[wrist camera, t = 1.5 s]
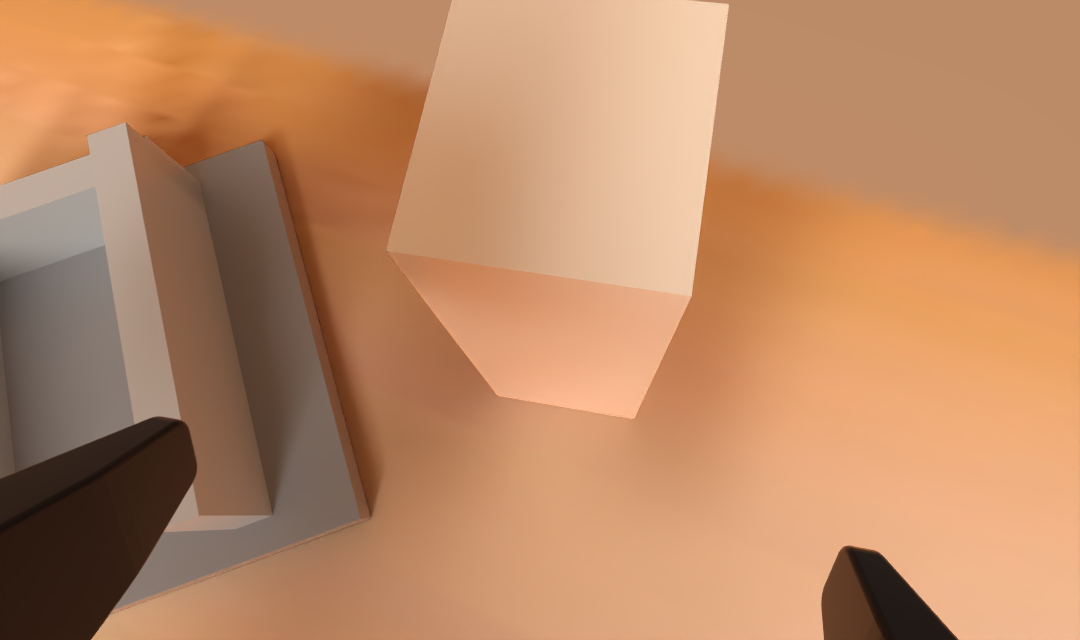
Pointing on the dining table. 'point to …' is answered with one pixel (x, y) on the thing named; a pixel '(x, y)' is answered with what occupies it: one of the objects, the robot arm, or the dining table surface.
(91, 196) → the slot rack
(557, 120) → the cream block
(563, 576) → the dining table surface
